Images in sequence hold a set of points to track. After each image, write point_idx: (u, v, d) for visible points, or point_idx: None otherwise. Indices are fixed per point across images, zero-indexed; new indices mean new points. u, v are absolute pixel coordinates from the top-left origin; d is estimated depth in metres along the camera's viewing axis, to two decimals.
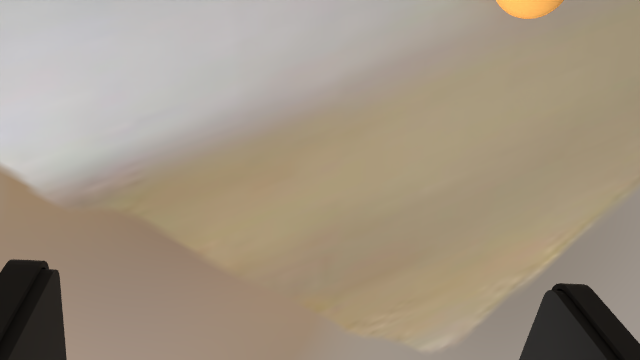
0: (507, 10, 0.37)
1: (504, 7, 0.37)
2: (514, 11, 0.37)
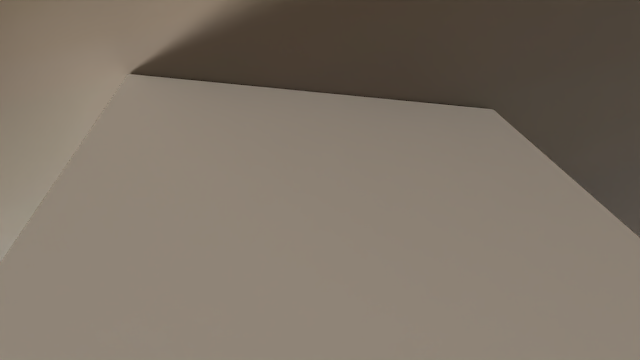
0: None
1: None
2: None
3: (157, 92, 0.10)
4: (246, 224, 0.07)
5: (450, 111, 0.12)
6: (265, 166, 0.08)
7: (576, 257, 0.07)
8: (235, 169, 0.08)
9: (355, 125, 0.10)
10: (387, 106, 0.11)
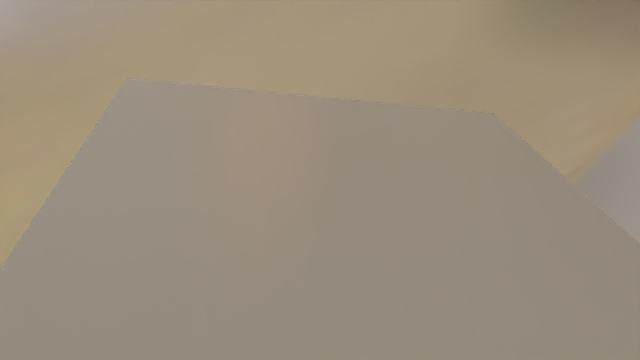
0: None
1: None
2: None
3: (157, 97, 0.10)
4: (246, 232, 0.07)
5: (450, 115, 0.12)
6: (266, 173, 0.08)
7: (577, 265, 0.07)
8: (235, 175, 0.08)
9: (355, 130, 0.10)
10: (387, 110, 0.11)
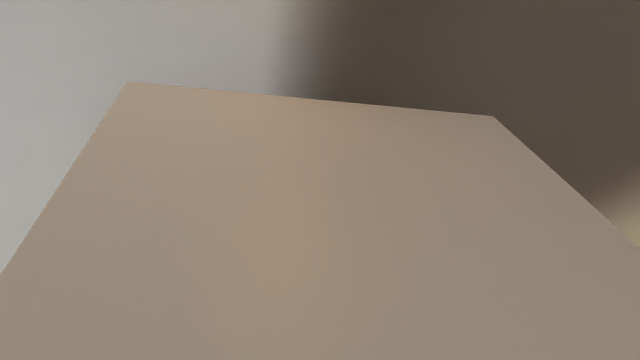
0: None
1: None
2: None
3: (157, 100, 0.10)
4: (246, 236, 0.07)
5: (450, 118, 0.12)
6: (266, 176, 0.08)
7: (576, 268, 0.07)
8: (235, 179, 0.08)
9: (355, 133, 0.10)
10: (387, 113, 0.11)
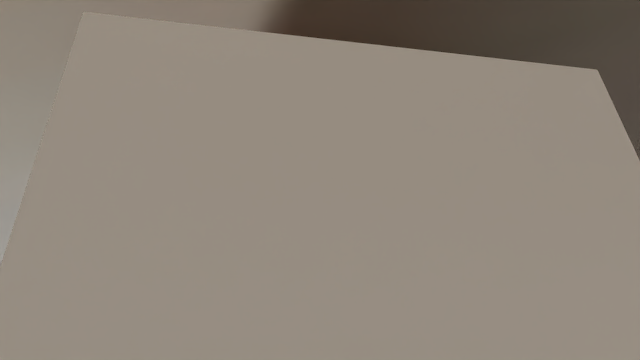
0: None
1: None
2: None
3: (126, 66, 0.07)
4: None
5: (538, 82, 0.08)
6: (273, 276, 0.06)
7: None
8: (230, 288, 0.06)
9: (404, 138, 0.07)
10: (451, 74, 0.08)
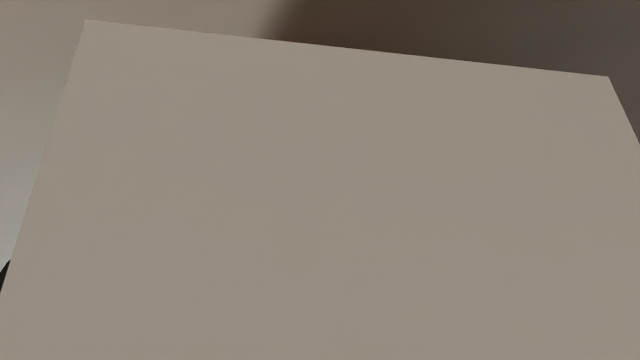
0: None
1: None
2: None
3: (129, 76, 0.07)
4: None
5: (548, 89, 0.08)
6: (281, 294, 0.06)
7: None
8: (237, 307, 0.06)
9: (412, 149, 0.07)
10: (460, 82, 0.08)
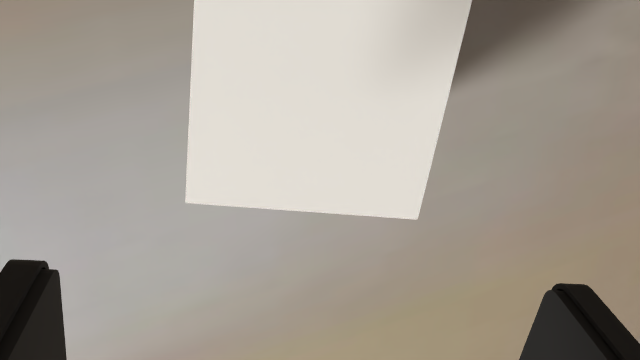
0: None
1: None
2: None
3: None
4: None
5: None
6: None
7: None
8: None
9: None
10: None
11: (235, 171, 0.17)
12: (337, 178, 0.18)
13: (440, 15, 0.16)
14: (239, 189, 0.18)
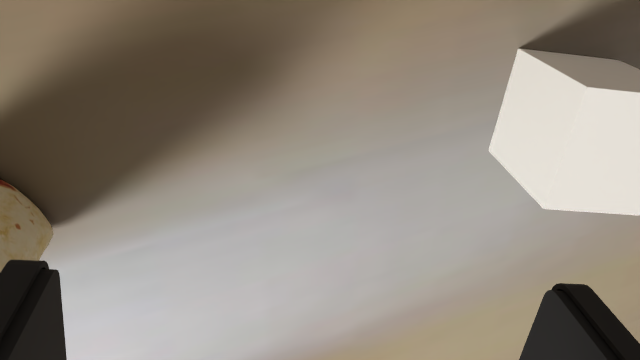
0: None
1: None
2: None
3: (534, 52, 0.38)
4: (592, 73, 0.34)
5: (607, 60, 0.39)
6: (582, 67, 0.35)
7: None
8: (577, 67, 0.35)
9: (588, 61, 0.38)
10: (590, 58, 0.39)
11: (572, 192, 0.34)
12: (621, 195, 0.34)
13: None
14: (571, 201, 0.34)
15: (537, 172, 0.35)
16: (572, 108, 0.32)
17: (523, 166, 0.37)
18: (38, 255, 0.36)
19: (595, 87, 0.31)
